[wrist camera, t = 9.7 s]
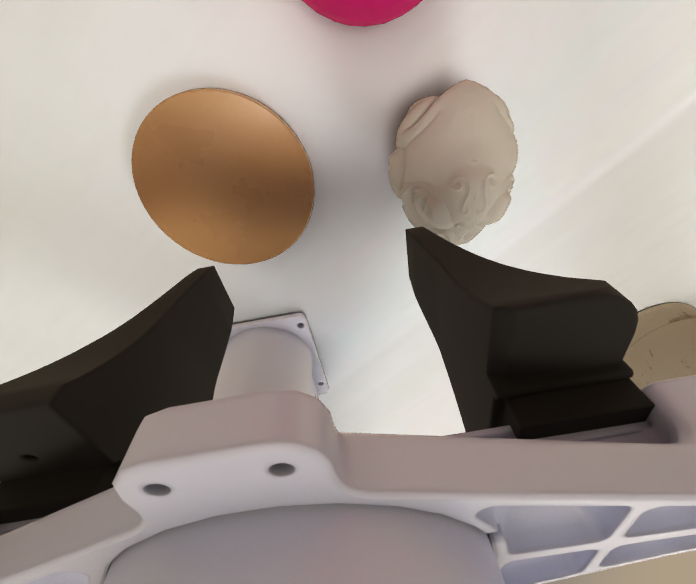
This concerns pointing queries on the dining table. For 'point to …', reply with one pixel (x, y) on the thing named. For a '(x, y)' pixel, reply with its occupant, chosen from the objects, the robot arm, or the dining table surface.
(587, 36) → the dining table surface
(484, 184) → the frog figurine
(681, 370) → the thermos bottle
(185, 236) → the copper coaster
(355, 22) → the pepper mill
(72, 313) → the dining table surface
